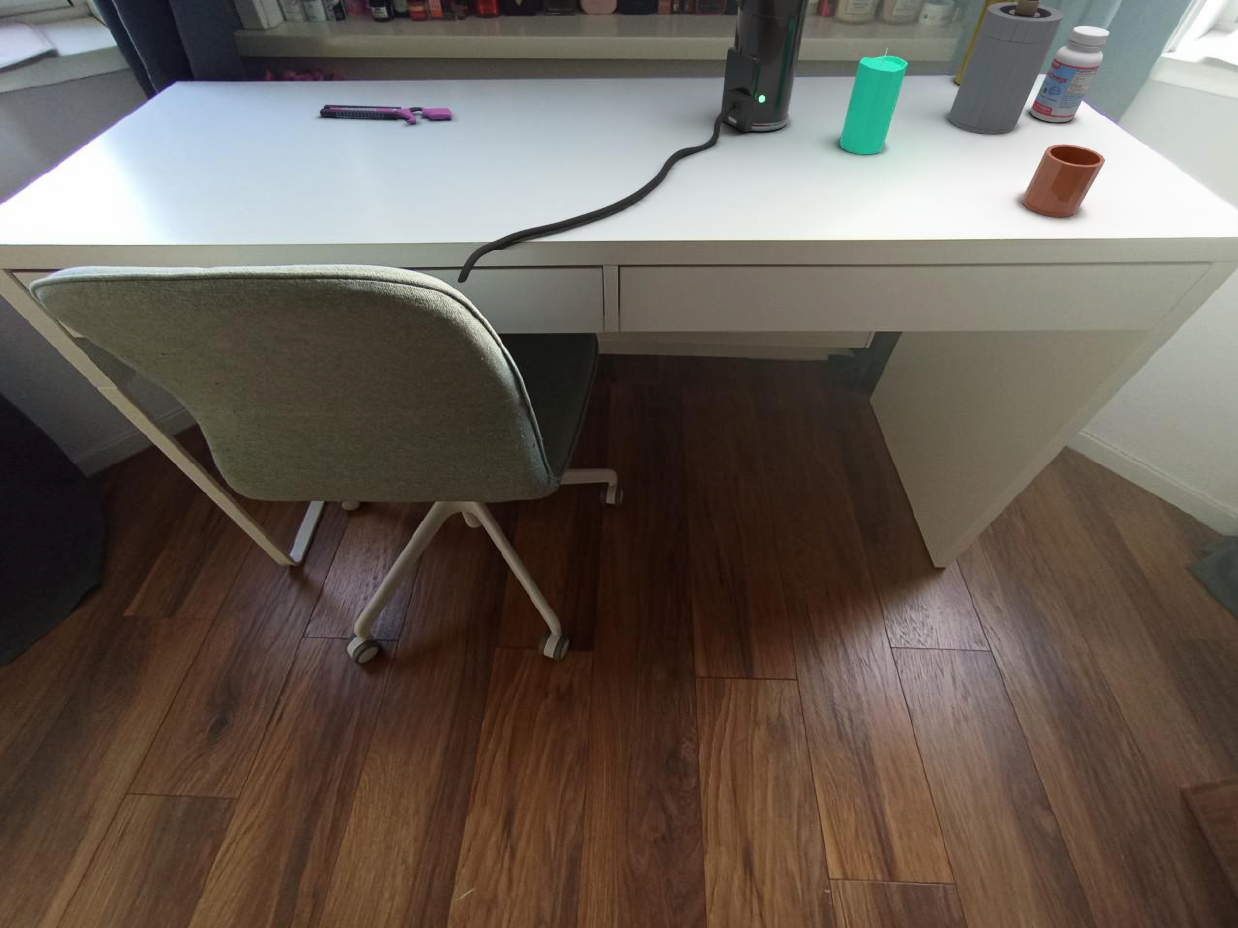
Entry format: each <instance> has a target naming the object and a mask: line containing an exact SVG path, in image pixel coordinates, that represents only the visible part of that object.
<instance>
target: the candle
mask: <svg viewBox="0 0 1238 928" xmlns="http://www.w3.org/2000/svg"><path fill="white" fill-rule="evenodd" d="M885 49H886V50H885V53H884V55H880V56H876V57H867V56H863V57H862V58H861V59H860V61H859V62H858V66H857V70H856V75H855V78H854V83H853V86H852V91H851V95H850V99H849V103H848V106H847V109H846V110H847V111H846V115H845V119H844V123H843V126H842V131H841V135H840V139H839V145H840V148H841V149H844V150H845V151H847V152H849V153H853V154H858V155H874V154H878V153H880V152H881V151H882V150H883V149H884V145H885V142H886V140H887V136H888V132H889V128H890V125H891V122H892V120H893V116H894V112H895V108H896V105H897V102H898V98H899V95H900V92H901V88H902V85H903V81H904V78H905V75H906V72H907V68H908V65H909V62H907V61H906V60H905V59H902V58H901V57H898V56H896V55H895V56H893V55H887V53H888V49H889V48H888V47H887V48H885Z"/></svg>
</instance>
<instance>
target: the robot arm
mask: <svg viewBox="0 0 1238 928" xmlns="http://www.w3.org/2000/svg"><path fill="white" fill-rule="evenodd" d="M809 2H810V0H738V7H737V13H736V14H737V16H736V24H735V33H734V40H733V41H734V42H733V46H729V47H728V48H727V53H726V63H725V71H724V81H723V89H722V98H721V99H722V100H721V108H720V112H719V114H717V115H718V116H717V117H716V119H715V120H714V125H713V133H712V136H711V138H710V139H709V140H708V141H706V142H705V143H702V144H701V145H697V146H689V147H684V148H681V149H678V150H677V151H675V152H674V153H673V154H671V155H670V156H669V157H668V158H667V159H666V160H665V162H664V164H663V165H662V167H661V168H660V170H659V171H658V173H657V174H656V175H655V176H654V177H653V178H652V179H651V180H649V181H648V182H646V184H645V185H643V186H641V188H640V189H638V190H635V192H633V193H631V194H630V195H628V196H626V197H624V198H622V199H620V200H618V201H616V202H614V203H611V204H609V205H606V206H603V207H601V208H599V209H595V210H592V211H589V212H586V213H582V214H580V215H577V216H574V217H573V216H572V217H570V218H567V219H564V220H561V221H557V222H551V223H548V224H544V225H540V226H535V227H530V228H526V229H522V230H519V231H516V232H513V233H511V234H510V233H509V234H507V235H505V236H502V237H500V238H498V239H496V240H493V241H491V242H489V243H486V244H484V245H481V246H479V248H477V249H475V250H474V251H473V252H472V253H471V254H470V255H469V256H468V258H467V259H466V261H465V263H464V265H463V266H462V268H461V270H460V272H459V275H458V278H457V283H458V284H463V283H465V282H466V281H467V280H468V278H469V275H470V273H471V271H472V269H473V268H474V266H475V264H476V263H477V261H478V260H480V259H481V257H483V256H485V255H487V254H489V253H491V252H493V251H496V250H498V249H500V248H502V247H505V246H507V245H509V244H511V243H514V242H517V241H520V240H523V239H527V238H531V237H535V236H539V235H544V234H548V233H552V232H557V231H560V230H564V229H567V228H570V227H574V226H577V225H580V224H583V223H586V222H590V221H593V220H595V219H599V218H601V217H604V216H607V215H609V214H612V213H614V212H616V211H619V210H620V209H623V208H624V207H627V206H628V205H630V204H632V203H634V202H636V201H637V200H639V199H641V197H643V196H645V195H646V194H647V193H648V192H649V191H652V189H653V188H654V187H655V186H656V185H658V184H659V183H660V182H661V181H662V180H663V179H664V177H665V176H666V175H667V173H668V172H669V170H670V168H671V167H672V165H673V164H674V163H675V162H676V161H677V160H678V159H679V158H681V157H684V156H687V155H693V154H697V153H700V152H702V151H706V150H708V149H710V148H712V147H713V146H714V145H715V144H716V142H717V141H718V140H719V137H720V133H721V132H720V131H721V125H722V123H723V122H725V123H727V124H728V125H730V126H732V127H734V128H735V129H737V130H739V131H741V132H743V133H747V132H770V131H775V130H779V129H782V128H783V127H785V126H786V125H787V124H788V121H789V115H790V113H789V111H790V106H791V105H790V104H791V100H792V94H793V88H794V84H795V77H796V72H797V67H798V61H799V56H800V50H801V46H802V40H803V35H804V28H805V22H806V18H807V12H808V7H809Z"/></svg>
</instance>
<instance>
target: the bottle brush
mask: <svg viewBox="0 0 1238 928" xmlns="http://www.w3.org/2000/svg"><path fill="white" fill-rule="evenodd" d="M1040 3H1041V0H1019V1H1018V4H1017V6H1016V9H1015V10H1010V11H1009V12H1008V14H1009V15H1012V16H1018V17H1025V18H1040V14H1039V13H1037V12H1036V11H1037V9H1038V6H1039V5H1041V4H1040Z"/></svg>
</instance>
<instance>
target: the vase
mask: <svg viewBox="0 0 1238 928" xmlns="http://www.w3.org/2000/svg"><path fill="white" fill-rule="evenodd" d="M1018 1H1019V0H985V1H984V3H983V6H982V8H981V11H980V14H979V16H978V18H977V21H976V24H975V27H974V28H973V29H974V30H973V32H972V35H971V37H970V40H969V43H968V45H967V48H966V51H965V53H964V56H963V58H962V62H961V64H960V67H959V70H958V71H957V74H956V76H955V77H954V82H955V83H956V84H957V85H959V86H960V84H961V81H962V78H963V75H964V72H965V70H966V67H967V64H968V61H969V59H970V56H971V53H972V50H973V48H974V45H975V42H976V39H977V36H978V34H979V31H980V28H981V25H982V23H983V20H984V17H985V14H986V11H987V9H988V7H989V6H990V5H992V4H997V3H1005V2H1018Z"/></svg>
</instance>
